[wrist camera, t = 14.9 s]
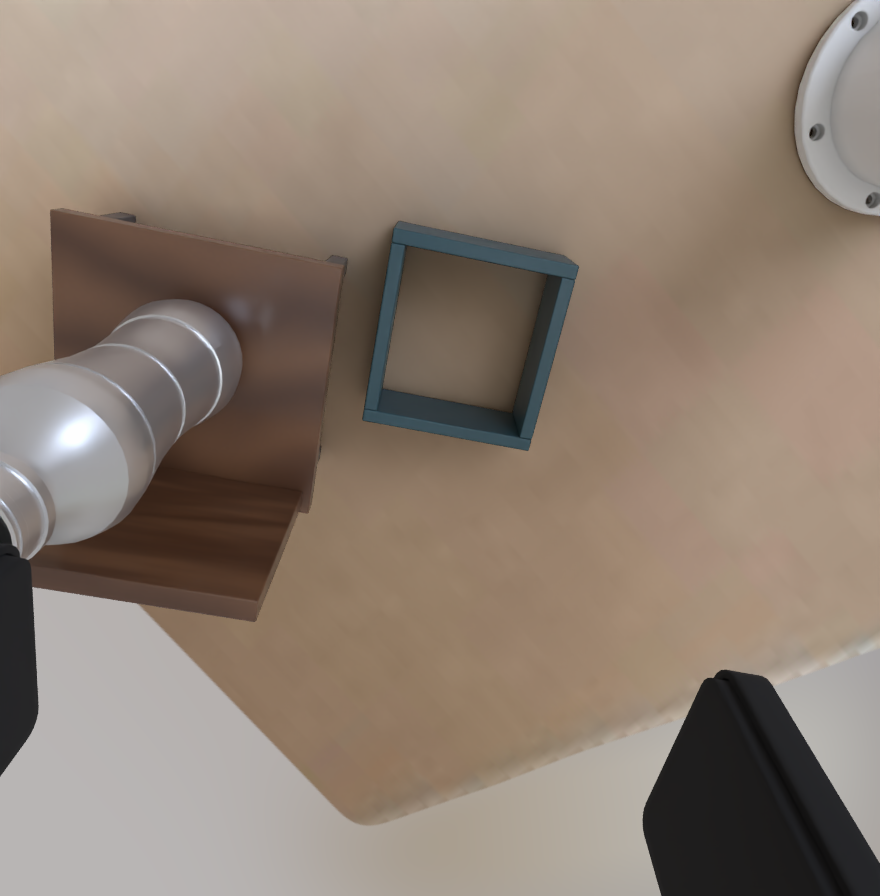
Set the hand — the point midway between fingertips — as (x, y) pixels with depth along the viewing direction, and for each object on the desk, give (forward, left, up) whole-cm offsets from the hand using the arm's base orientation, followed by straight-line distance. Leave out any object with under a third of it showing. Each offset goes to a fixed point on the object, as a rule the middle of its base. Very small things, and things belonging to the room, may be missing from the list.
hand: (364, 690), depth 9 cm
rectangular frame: (+3, +3, -36) cm, 36 cm away
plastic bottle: (+5, -12, -29) cm, 32 cm away
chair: (+7, -12, -36) cm, 38 cm away
